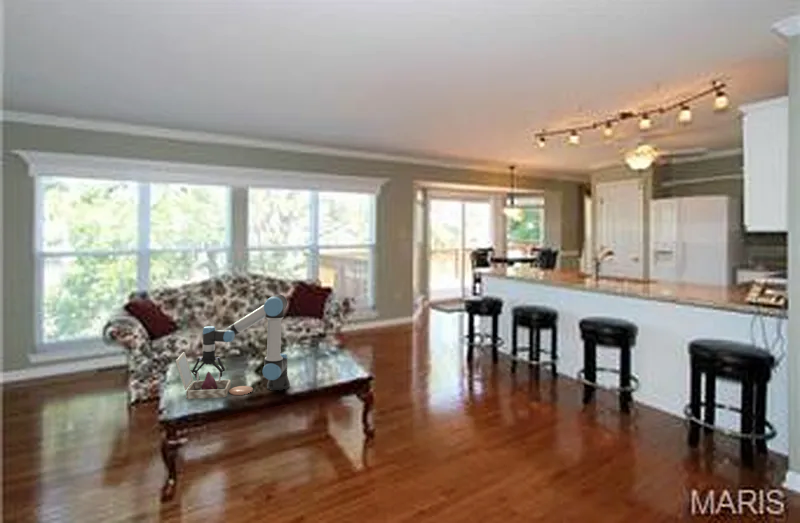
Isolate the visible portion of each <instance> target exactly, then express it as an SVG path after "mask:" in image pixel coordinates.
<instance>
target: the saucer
mask: <svg viewBox="0 0 800 523" xmlns="http://www.w3.org/2000/svg"><path fill="white" fill-rule="evenodd" d="M253 391H254V388H253V387H252V386H248V385H239V386H235V387H230V389H229V392H228V394H230V395H232V396H245V395H248V393H249V394H251V393H252V392H253ZM250 392H251V393H250ZM244 394H245V395H244Z"/></svg>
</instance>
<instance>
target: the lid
mask: <svg viewBox="0 0 800 523" xmlns="http://www.w3.org/2000/svg"><path fill="white" fill-rule="evenodd" d="M175 362H176V366H177V369H178V372H179V375H180V379H181V382H182V385H183V388H184V391H187V389H188V388H189V387H190V385H191V384H192V382H193V381H194V378H193V374H192V372H191V371H190V370H191V369H190V365H189V363H188V362H189V361H188V358H187V356H186V352H185V351H183V352H181V354H180V355H179V356H178V357H177V358H176V359H175Z"/></svg>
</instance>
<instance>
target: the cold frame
mask: <svg viewBox="0 0 800 523" xmlns="http://www.w3.org/2000/svg"><path fill="white" fill-rule="evenodd" d="M192 370H193V369H190V371H191V374H192V376H194V377H195V372H192ZM215 381H216V384H217V388H218V389H213V390H201V387H202V384H203V382H204V380H200V378H199V382H198V383H197V380H193V381H192V382H191V384H190V385H189V387H188V388H187V390H185V391H186V392H185V394H186V396H185V397H186V399H188V400H191V399H193V400H194V399H208V398H209V399H213V398H214V399H215V398H227V396H228V394H229V390H230V389H231V388H232V385H231V384H232V383H231V379H221V381H220V382H219V379H215Z"/></svg>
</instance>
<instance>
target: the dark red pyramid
mask: <svg viewBox="0 0 800 523" xmlns="http://www.w3.org/2000/svg"><path fill="white" fill-rule="evenodd" d="M215 380H216V379H215V378H214V377H213V375H212V374H211V372H210V371H208V372H207V373H206V376H205V378H204V380H203V381H204V382H203V384H202V387H201V389H200V390H213V389H219V388H217V384H216V381H215Z"/></svg>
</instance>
